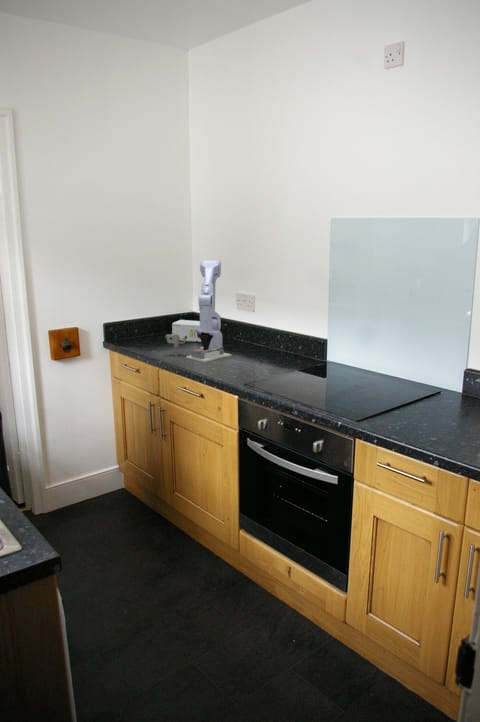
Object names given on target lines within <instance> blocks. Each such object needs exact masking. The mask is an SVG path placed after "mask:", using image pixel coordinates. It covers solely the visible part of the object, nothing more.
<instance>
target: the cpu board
mask: <svg viewBox="0 0 480 722" xmlns="http://www.w3.org/2000/svg"><path fill="white" fill-rule="evenodd" d="M194 350H195V349H193V350H191V351H190V352H191V353H190V355H187V356H186V359H189V360H193V361H198V362H202V363H207V362H211V361H215V360H220V359H225V358H230V357H232V354H230V353H226V352H225V350H224V348H222V349H217V350H212V351H208V352H200V353H196V352H194Z"/></svg>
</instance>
